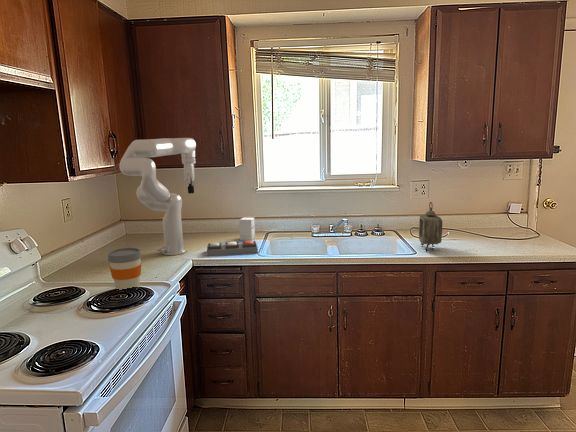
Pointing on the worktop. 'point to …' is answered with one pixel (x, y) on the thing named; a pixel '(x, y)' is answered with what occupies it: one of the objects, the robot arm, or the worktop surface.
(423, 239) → the dark metal lantern
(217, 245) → the sage button
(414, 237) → the worktop surface
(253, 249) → the button panel
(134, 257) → the reusable coffee cup
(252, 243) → the red button
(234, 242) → the ivory button
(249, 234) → the supplement box
